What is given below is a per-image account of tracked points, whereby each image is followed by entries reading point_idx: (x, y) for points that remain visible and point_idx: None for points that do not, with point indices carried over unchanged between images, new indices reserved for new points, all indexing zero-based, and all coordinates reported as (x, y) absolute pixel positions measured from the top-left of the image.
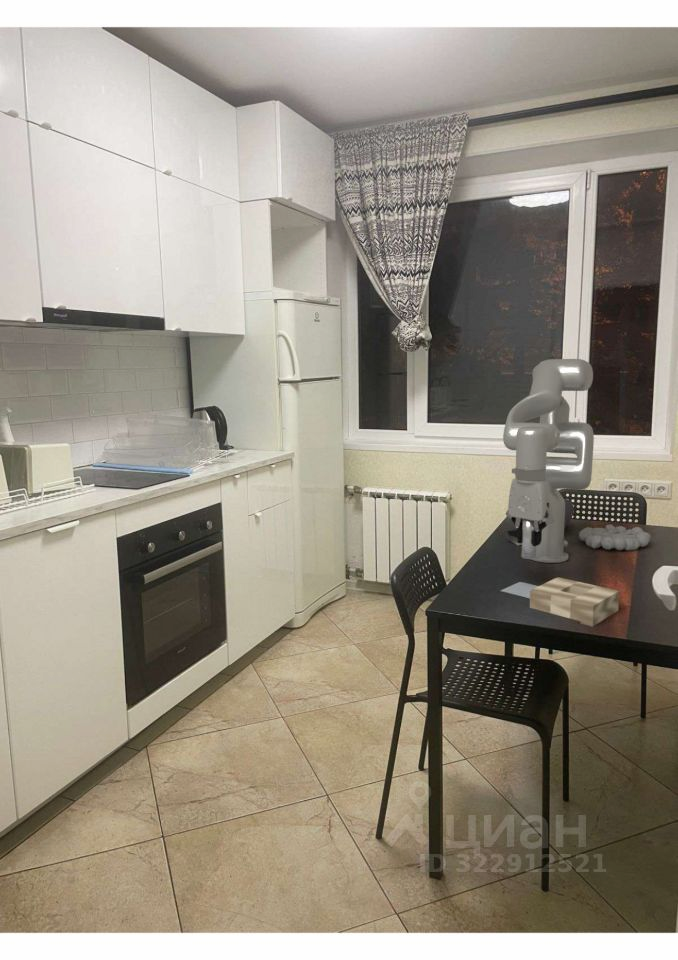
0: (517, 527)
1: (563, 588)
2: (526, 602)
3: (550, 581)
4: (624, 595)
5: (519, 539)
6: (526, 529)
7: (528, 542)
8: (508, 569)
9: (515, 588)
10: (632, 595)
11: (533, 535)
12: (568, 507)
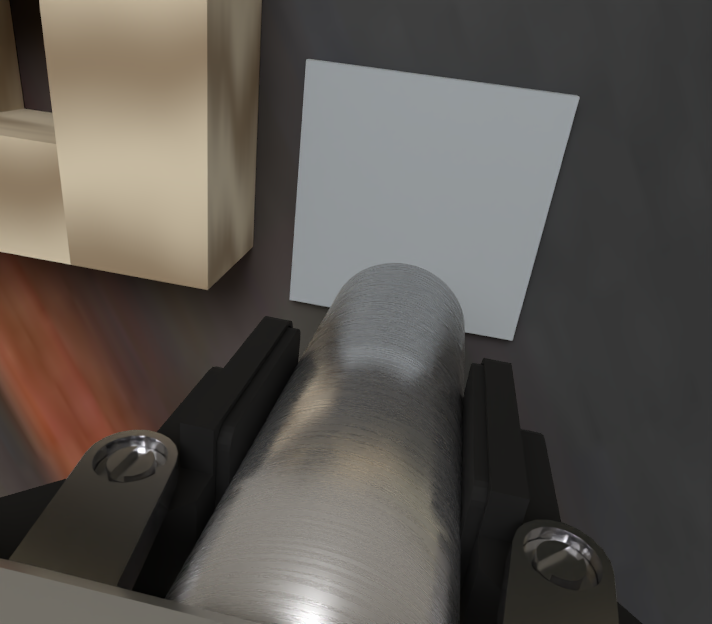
0: (551, 541)
1: (52, 57)
2: (347, 10)
3: (198, 167)
4: (33, 404)
5: (484, 384)
6: (330, 457)
7: (340, 343)
8: (654, 533)
9: (495, 203)
10: (12, 418)
11: (225, 386)
12: None
